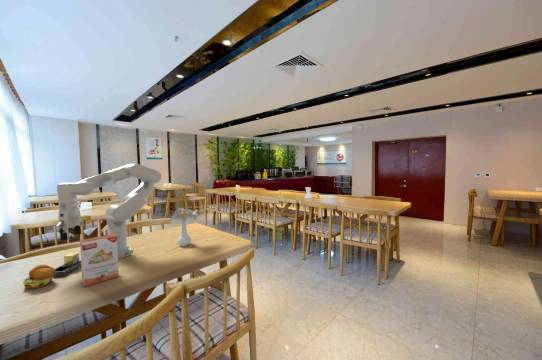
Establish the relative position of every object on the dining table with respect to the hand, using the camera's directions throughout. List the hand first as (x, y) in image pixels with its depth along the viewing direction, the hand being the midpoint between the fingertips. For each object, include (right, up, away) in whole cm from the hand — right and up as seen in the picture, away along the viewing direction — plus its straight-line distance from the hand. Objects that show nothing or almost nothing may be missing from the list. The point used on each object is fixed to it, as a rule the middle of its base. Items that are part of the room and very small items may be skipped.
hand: (71, 237), depth 129 cm
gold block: (0, -16, +1) cm, 16 cm away
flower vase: (+48, -14, +36) cm, 62 cm away
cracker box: (+25, -18, -13) cm, 34 cm away
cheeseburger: (0, -19, -17) cm, 25 cm away
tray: (0, -17, -3) cm, 17 cm away
